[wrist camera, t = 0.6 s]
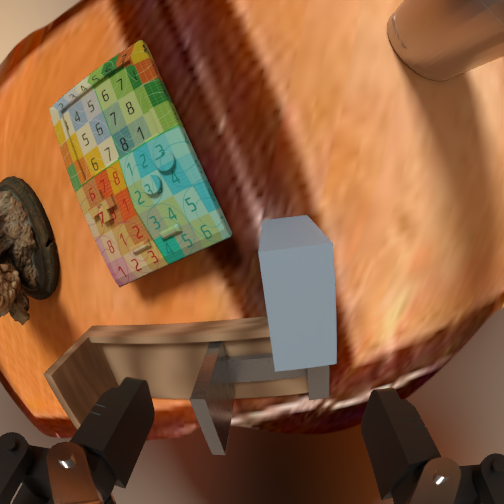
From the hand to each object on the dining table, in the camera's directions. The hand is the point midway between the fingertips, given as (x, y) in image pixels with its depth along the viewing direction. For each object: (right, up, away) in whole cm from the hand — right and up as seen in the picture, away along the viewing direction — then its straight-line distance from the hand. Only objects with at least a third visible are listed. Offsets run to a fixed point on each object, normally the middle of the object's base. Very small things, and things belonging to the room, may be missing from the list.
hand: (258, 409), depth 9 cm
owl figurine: (-29, +7, +20) cm, 36 cm away
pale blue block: (+3, +5, +18) cm, 19 cm away
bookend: (+2, -6, +19) cm, 20 cm away
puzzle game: (-11, +14, +17) cm, 25 cm away
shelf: (-6, -7, +21) cm, 23 cm away
